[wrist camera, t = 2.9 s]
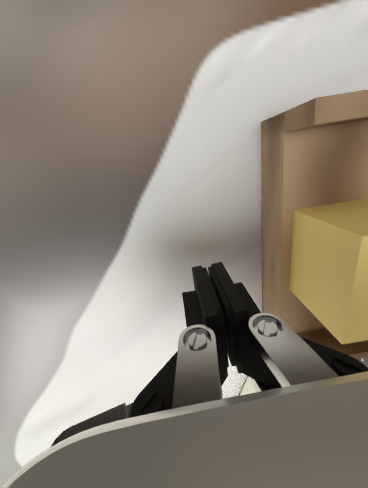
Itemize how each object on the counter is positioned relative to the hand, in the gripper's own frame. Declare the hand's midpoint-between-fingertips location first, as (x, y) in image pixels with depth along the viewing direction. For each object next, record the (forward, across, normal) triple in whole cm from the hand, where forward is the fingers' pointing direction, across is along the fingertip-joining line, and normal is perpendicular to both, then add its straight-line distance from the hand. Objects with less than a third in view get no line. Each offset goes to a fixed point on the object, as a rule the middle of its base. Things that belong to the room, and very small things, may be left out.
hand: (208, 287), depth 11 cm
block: (+3, -9, 0) cm, 10 cm away
